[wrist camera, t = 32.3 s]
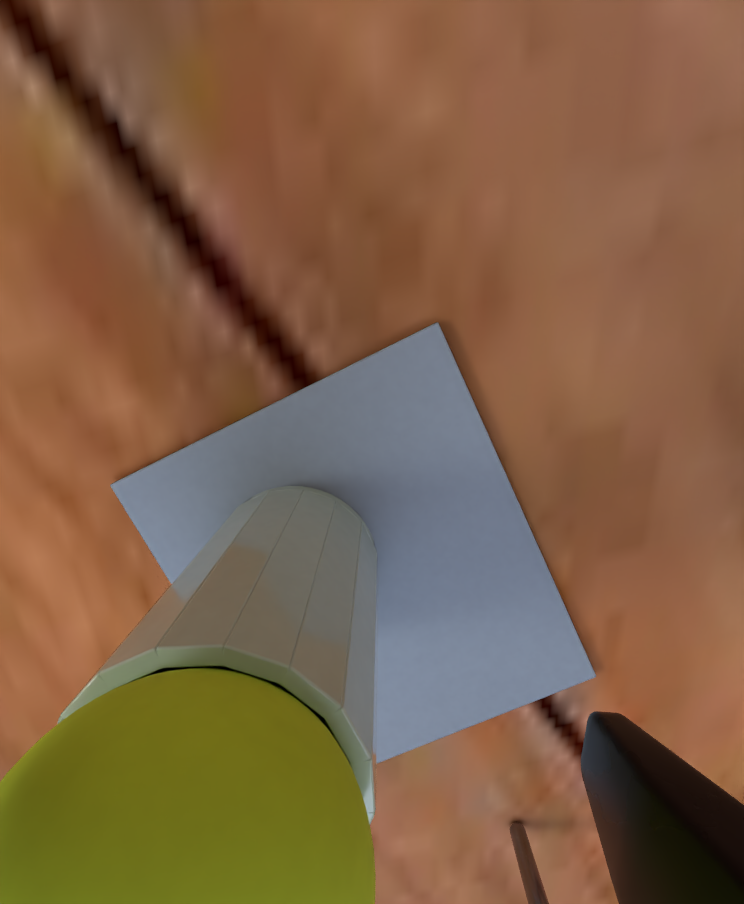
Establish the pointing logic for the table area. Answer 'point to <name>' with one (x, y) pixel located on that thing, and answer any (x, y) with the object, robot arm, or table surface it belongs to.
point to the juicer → (527, 866)
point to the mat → (394, 532)
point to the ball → (186, 801)
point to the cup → (274, 616)
